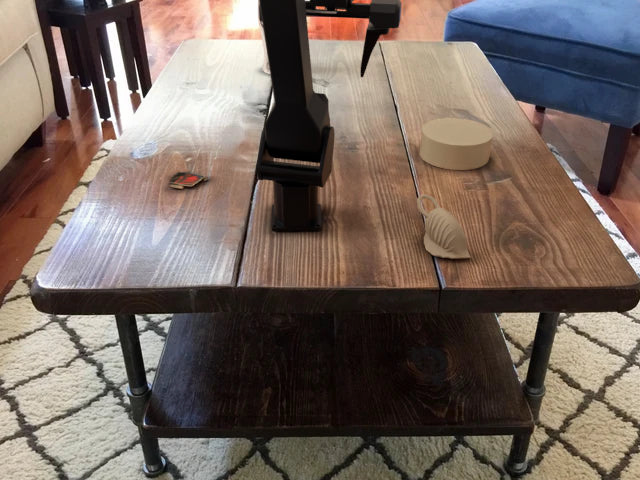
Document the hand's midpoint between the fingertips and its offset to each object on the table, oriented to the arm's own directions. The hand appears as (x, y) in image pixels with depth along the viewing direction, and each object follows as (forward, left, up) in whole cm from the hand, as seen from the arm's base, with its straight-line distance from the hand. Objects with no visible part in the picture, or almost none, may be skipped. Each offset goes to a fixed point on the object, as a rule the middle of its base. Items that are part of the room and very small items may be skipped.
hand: (330, 74), depth 91 cm
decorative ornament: (-25, -13, -14) cm, 31 cm away
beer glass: (+45, +9, -14) cm, 48 cm away
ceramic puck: (+2, -20, -13) cm, 24 cm away
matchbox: (-7, +21, -13) cm, 26 cm away
